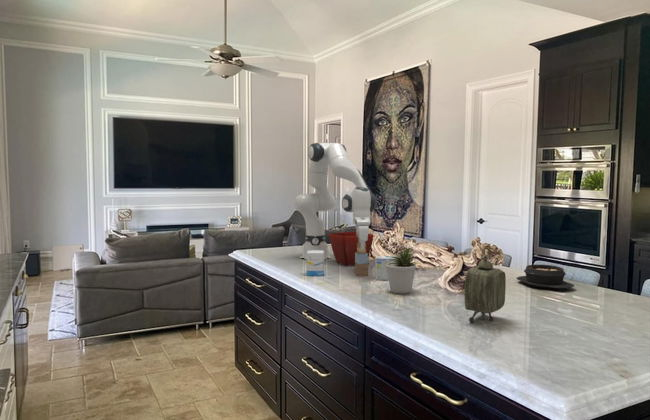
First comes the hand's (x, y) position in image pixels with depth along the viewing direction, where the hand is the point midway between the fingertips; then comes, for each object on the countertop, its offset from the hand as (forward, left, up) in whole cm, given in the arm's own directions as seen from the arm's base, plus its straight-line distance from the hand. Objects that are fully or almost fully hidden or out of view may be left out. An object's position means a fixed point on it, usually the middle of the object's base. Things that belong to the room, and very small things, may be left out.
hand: (361, 247), depth 237 cm
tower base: (0, 0, -14) cm, 14 cm away
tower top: (0, 0, -8) cm, 8 cm away
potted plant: (+35, +14, -14) cm, 40 cm away
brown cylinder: (0, 0, -3) cm, 3 cm away
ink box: (-2, -23, -14) cm, 27 cm away
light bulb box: (+10, +11, -14) cm, 20 cm away
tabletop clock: (+76, +35, -14) cm, 85 cm away
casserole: (+27, +79, -14) cm, 85 cm away
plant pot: (-31, -3, -14) cm, 34 cm away
